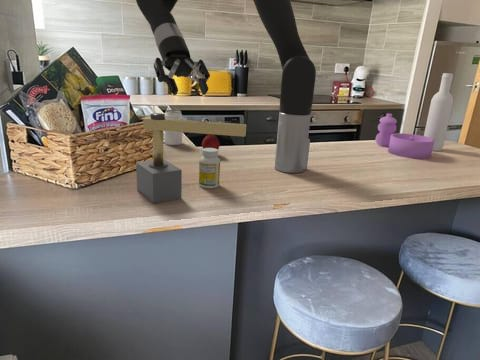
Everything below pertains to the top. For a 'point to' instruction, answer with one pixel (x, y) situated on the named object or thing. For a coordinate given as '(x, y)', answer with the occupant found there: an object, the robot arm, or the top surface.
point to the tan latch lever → (161, 124)
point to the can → (173, 136)
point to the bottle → (440, 113)
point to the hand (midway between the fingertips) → (191, 93)
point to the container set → (403, 141)
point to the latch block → (159, 181)
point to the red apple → (210, 142)
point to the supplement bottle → (209, 168)
